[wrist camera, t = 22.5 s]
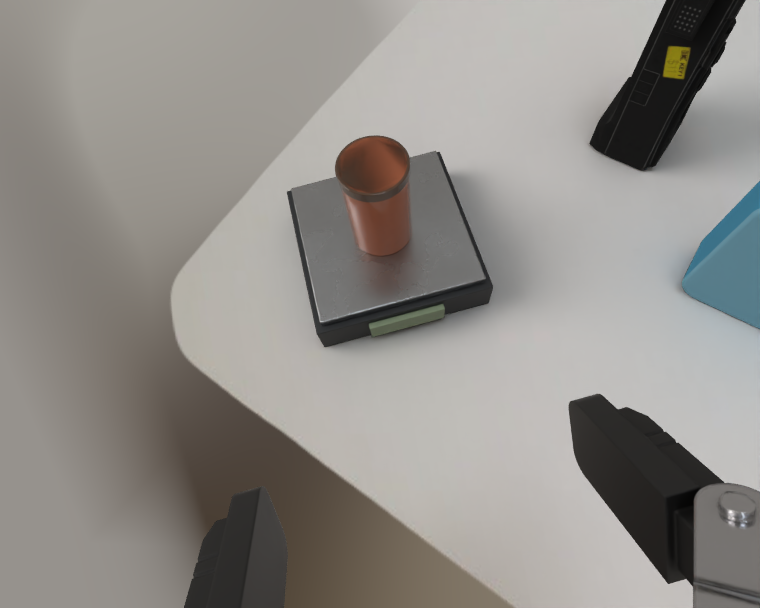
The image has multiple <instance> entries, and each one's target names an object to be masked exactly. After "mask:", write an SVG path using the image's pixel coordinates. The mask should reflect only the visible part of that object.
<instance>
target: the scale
mask: <svg viewBox="0 0 760 608" xmlns="http://www.w3.org/2000/svg"><path fill="white" fill-rule="evenodd" d="M437 155H438V157H439V160H440V162H441V165H442V167H443V170H444V173H445V175H446V178H447V180H448V183H449V185H450V188H451V190H452V193H453V196H454V198H455V201H456V203H457V206H458V208H459V211H460V213H461V216H462V219H463V221H464V224H465V226H466V229H467V231H468V234H469V236H470V239H471V241H472V244H473V247H474V249H475V252H476V254H477V257H478V259H479V262H480V264H481V267H482V270H483V272H484V275H485V277H486V280H485V283H482V284H478V285H474V286H471V287H467V288H463V289H459V290H456V291H452V292H448V293H445V294H441V295H437V296H433V297H430V298H426V299H422V300H418V301H415V302H411V303H407V304H404V305H400V306H396V307H392V308H389V309H385V310H381V311H377V312H374V313H370V314H366V315H363V316H359V317H355V318H351V319H348V320H344V321H340V322H337V323H333V324H329V325H325V326H321V324H320V321H319V316H318V312H317V307H316V303H315V298H314V293H313V289H312V284H311V279H310V275H309V270H308V266H307V261H306V256H305V252H304V247H303V243H302V238H301V233H300V229H299V224H298V219H297V215H296V210H295V206H294V201H293V196H292V192H291V191H288V192H287V195H288V200H289V205H290V209H291V214H292V219H293V223H294V228H295V233H296V238H297V242H298V247H299V252H300V257H301V261H302V266H303V271H304V275H305V280H306V285H307V290H308V294H309V299H310V304H311V309H312V313H313V318H314V323H315V327H316V332H317V335H318V337H319V338H320V340H321V342H322V344H323V345H324V347H327V346H331V345H334V344H338V343H342V342H345V341H349V340H353V339H356V338H360V337H364V336H368V335H372V337H374V336H378V335H382V334H386V333H389V332H393V331H397V330H400V329H404V328H408V327H411V326H415V325H419V324H423V323H426V322H430V321H434V320H437V319H441V318H444V315H446V314H449V313H453V312H457V311H460V310H464V309H468V308H472V307H475V306H479V305H483V304H486V303H489V300H490V297H491V293H492V289H493V285H492V283H491V280H490V278H489V275H488V273H487V270H486V268H485V265H484V263H483V260H482V257H481V255H480V252H479V250H478V247H477V245H476V242H475V240H474V237H473V235H472V232H471V230H470V227H469V225H468V222H467V220H466V217H465V215H464V212H463V209H462V207H461V204H460V202H459V199H458V197H457V194H456V192H455V189H454V187H453V184H452V182H451V179H450V177H449V174H448V172H447V169H446V167H445V164H444V161H443V159H442V156H441V154H440V152H437Z"/></svg>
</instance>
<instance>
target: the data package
mask: <svg viewBox="0 0 760 608" xmlns="http://www.w3.org/2000/svg"><path fill="white" fill-rule="evenodd" d="M682 287H683V289H684V291H685V292H686V293H687V294H688V295H690V296H691V297H693V298H695V299H697V300H699V301H701V302H703V303H705V304H707V305H710V306H712V307H714V308H716V309H718V310H720V311H722V312H725V313H727V314H729V315H731V316H733V317H735V318H737V319H740V320H742V321H744V322H746V323H748V324H750V325H752V326H755V327H757V328H759V329H760V181H759V182H758V183H757V184H756V185H755V186H754V187H753V189H752V190H751V191H750V192H749V193H748V194H747V195H746V196H745V197H744V198H743V199H742V200H741V201H740V202H739V203H738V204H737V205H736V206H735V207H734V208H733V209H732V210H731V211H730V212H729V213H728V214H727V215H726V216H725V217H724V219H723V220H722V221H721V222H720V223H719V224H718V225H717V226H716V227H715V228H714V229H713V230H712V231H711V232H710V233H709V234H708V235H707V236H706V237H705V238H704V239H703V240H702V242H701V244H700V246H699V248H698V250H697V252H696V254H695V256H694V258H693V260H692V262H691V264H690V266H689V268H688V270H687V273H686V275H685V277H684V279H683V281H682Z"/></svg>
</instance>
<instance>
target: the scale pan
mask: <svg viewBox="0 0 760 608" xmlns="http://www.w3.org/2000/svg"><path fill="white" fill-rule="evenodd" d="M410 168H411V171H410V177H409V178H410V197H411V216H412V234H411V237H410V240H409V241H408V243H407V244H406V245H405V246H404V247H403V248H402V249H401V250H399V251H398V252H396V253H393V254H390V255H386V256H377V255H372V254H369V253H367V252H365V251H363V250H362V249H361V248H360V247H359V246H358V245H357V244H356V242H355V240H354V237H353V233H352V229H351V225H350V221H349V218H348V214H347V210H346V206H345V202H344V198H343V194H342V190H341V188H340V186H339V184H338V181H337V177H334V178H330V179H326V180H323V181H319V182H315V183H311V184H307V185H303V186H300V187H296V188H292V189H291V192H292V196H293V201H294V206H295V210H296V215H297V219H298V224H299V229H300V233H301V238H302V243H303V247H304V252H305V256H306V261H307V266H308V270H309V275H310V279H311V284H312V289H313V293H314V298H315V303H316V307H317V312H318V316H319V321H320V324H321V326H325V325H329V324H333V323H337V322H340V321H344V320H348V319H351V318H355V317H359V316H363V315H366V314H370V313H374V312H377V311H381V310H385V309H389V308H392V307H396V306H400V305H404V304H407V303H411V302H415V301H418V300H422V299H426V298H430V297H433V296H437V295H441V294H445V293H448V292H452V291H456V290H459V289H463V288H467V287H471V286H474V285H478V284H482V283H485V280H486V277H485V275H484V272H483V270H482V267H481V264H480V262H479V259H478V257H477V254H476V252H475V249H474V247H473V244H472V241H471V239H470V236H469V234H468V231H467V229H466V226H465V224H464V221H463V219H462V216H461V213H460V211H459V208H458V206H457V203H456V201H455V198H454V196H453V193H452V190H451V188H450V185H449V183H448V180H447V178H446V175H445V173H444V170H443V167H442V165H441V162H440V160H439V157H438V155H437V152H436V151H433V152H430V153H426V154H422V155H418V156H414V157H410Z"/></svg>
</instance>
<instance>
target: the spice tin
mask: <svg viewBox="0 0 760 608" xmlns="http://www.w3.org/2000/svg"><path fill="white" fill-rule="evenodd" d="M410 171H411V168H410V158H409V155H408V153H407V151H406V149H405V148H404V147H403V146H402V145H401V144H400V143H399V142H397V141H396V140H394V139H391V138H388V137H384V136H366V137H362V138H359V139H357V140H355V141H353V142H351V143H350V144H348V145H347V146H346V147H345V148H344V149H343V150H342V151H341V152H340V154H339V156H338V158H337V160H336V164H335V173H336V177H337V181H338V184H339V186H340V188H341V190H342V194H343V198H344V202H345V206H346V210H347V214H348V218H349V221H350V225H351V229H352V233H353V237H354V240H355V242H356V244H357V245H358V246H359V247H360V248H361V249H362V250H363V251H365V252H367V253H369V254H372V255H377V256H386V255H390V254H393V253H396V252H398V251H399V250H401V249H402V248H403V247H404V246H405V245H406V244H407V243H408V241H409V240H410V237H411V234H412V216H411V197H410V178H409V177H410Z"/></svg>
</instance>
